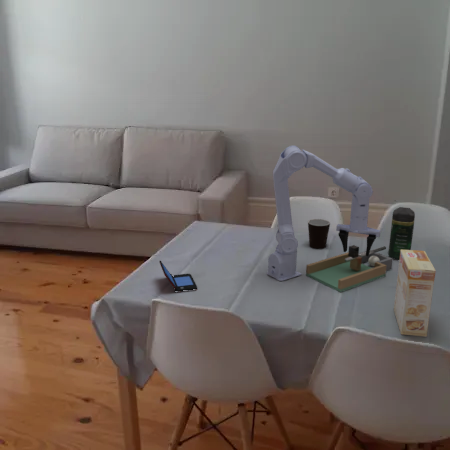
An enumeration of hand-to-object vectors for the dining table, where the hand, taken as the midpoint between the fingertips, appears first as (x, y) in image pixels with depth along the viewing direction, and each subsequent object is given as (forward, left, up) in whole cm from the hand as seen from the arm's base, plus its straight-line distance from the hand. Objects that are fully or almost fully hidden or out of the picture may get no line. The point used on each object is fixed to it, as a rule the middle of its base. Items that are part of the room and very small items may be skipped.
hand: (356, 253), depth 178 cm
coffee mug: (+10, +27, -8) cm, 30 cm away
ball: (+10, 0, -5) cm, 11 cm away
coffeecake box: (-14, -33, -8) cm, 37 cm away
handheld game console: (-55, +27, -8) cm, 62 cm away
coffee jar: (+26, +1, -8) cm, 27 cm away
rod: (+5, 0, -6) cm, 8 cm away
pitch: (-1, 0, -7) cm, 7 cm away
